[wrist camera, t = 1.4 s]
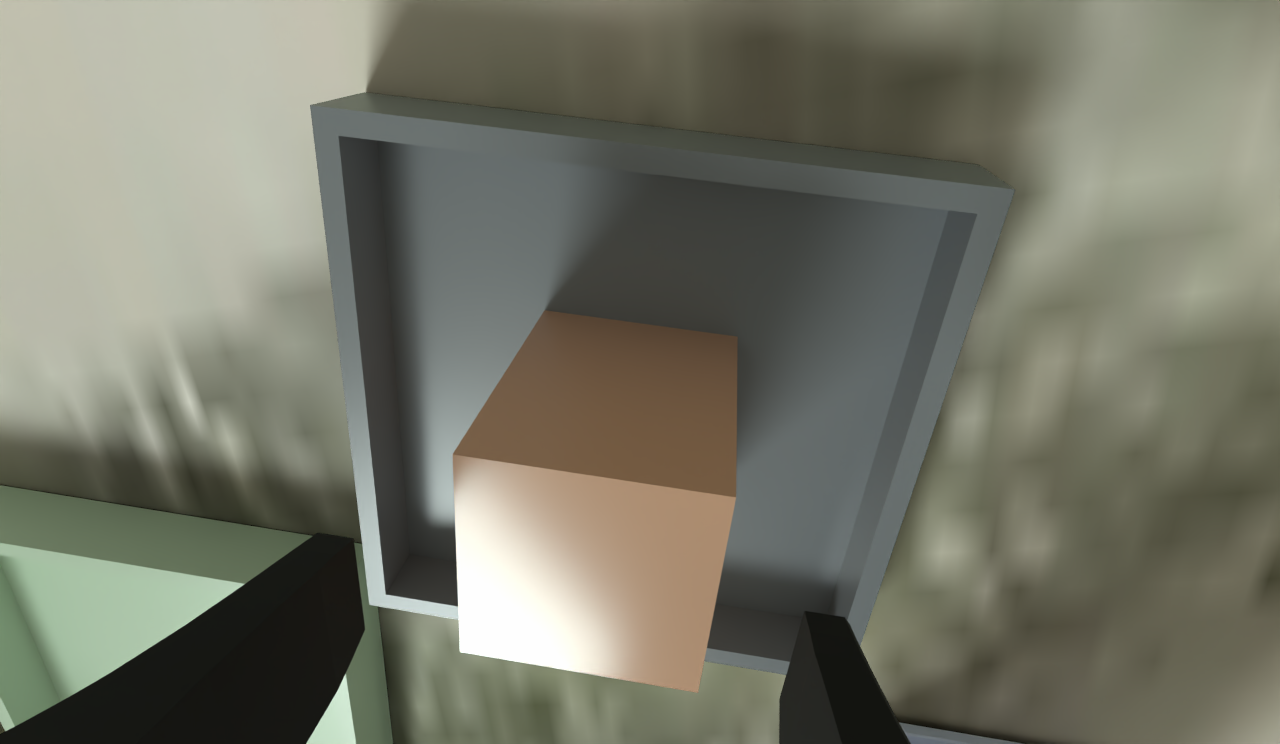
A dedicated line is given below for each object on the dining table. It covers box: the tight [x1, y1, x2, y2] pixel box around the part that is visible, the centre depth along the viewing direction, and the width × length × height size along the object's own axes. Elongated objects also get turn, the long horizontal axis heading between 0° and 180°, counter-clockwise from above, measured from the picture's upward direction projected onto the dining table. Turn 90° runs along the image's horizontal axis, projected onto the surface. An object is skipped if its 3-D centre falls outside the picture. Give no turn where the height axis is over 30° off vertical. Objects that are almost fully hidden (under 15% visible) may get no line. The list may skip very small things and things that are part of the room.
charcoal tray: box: [310, 92, 1015, 675], centre depth 17 cm, size 13×13×2 cm
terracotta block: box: [452, 310, 738, 693], centre depth 15 cm, size 4×4×6 cm
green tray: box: [0, 485, 393, 744], centre depth 24 cm, size 13×13×2 cm
